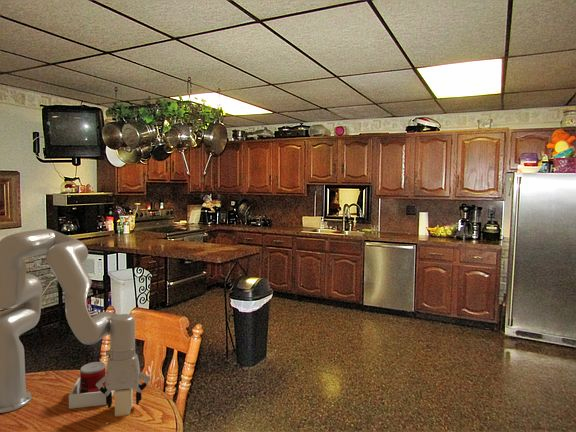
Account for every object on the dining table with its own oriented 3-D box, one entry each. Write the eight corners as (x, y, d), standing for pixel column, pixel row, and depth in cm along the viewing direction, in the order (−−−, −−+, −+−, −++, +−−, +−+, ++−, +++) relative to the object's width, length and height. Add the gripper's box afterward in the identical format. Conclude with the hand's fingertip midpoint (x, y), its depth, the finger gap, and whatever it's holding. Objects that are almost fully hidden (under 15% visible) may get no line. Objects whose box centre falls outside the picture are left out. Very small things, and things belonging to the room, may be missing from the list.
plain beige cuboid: (114, 416, 129) (114, 392, 129) (118, 404, 136) (118, 381, 135) (129, 414, 130) (129, 390, 130) (132, 403, 137) (132, 380, 136)
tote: (69, 408, 133) (68, 395, 133) (79, 389, 145) (78, 377, 145) (109, 404, 136) (109, 391, 136) (115, 386, 148) (115, 374, 148)
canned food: (110, 391, 144) (109, 362, 143) (97, 403, 136) (96, 372, 135) (90, 390, 145) (89, 360, 144) (76, 402, 137) (75, 371, 136)
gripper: (91, 360, 126) (92, 413, 127) (149, 355, 130) (150, 407, 131) (96, 350, 133) (98, 401, 135) (152, 346, 137) (152, 395, 139)
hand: (124, 403), depth 133 cm, fingers open, 8 cm apart
